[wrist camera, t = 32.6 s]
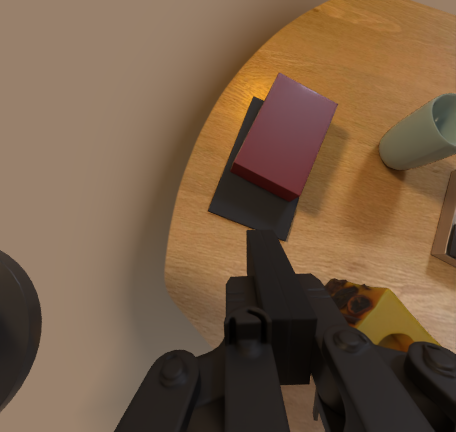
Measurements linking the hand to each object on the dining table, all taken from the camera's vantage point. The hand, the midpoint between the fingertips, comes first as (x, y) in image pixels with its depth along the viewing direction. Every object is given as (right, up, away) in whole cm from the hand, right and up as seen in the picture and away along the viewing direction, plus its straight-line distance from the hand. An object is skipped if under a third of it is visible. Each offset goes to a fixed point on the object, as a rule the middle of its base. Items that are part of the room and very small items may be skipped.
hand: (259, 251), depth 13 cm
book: (+3, +7, +19) cm, 20 cm away
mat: (+4, +10, +22) cm, 24 cm away
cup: (+26, +12, +26) cm, 38 cm away
